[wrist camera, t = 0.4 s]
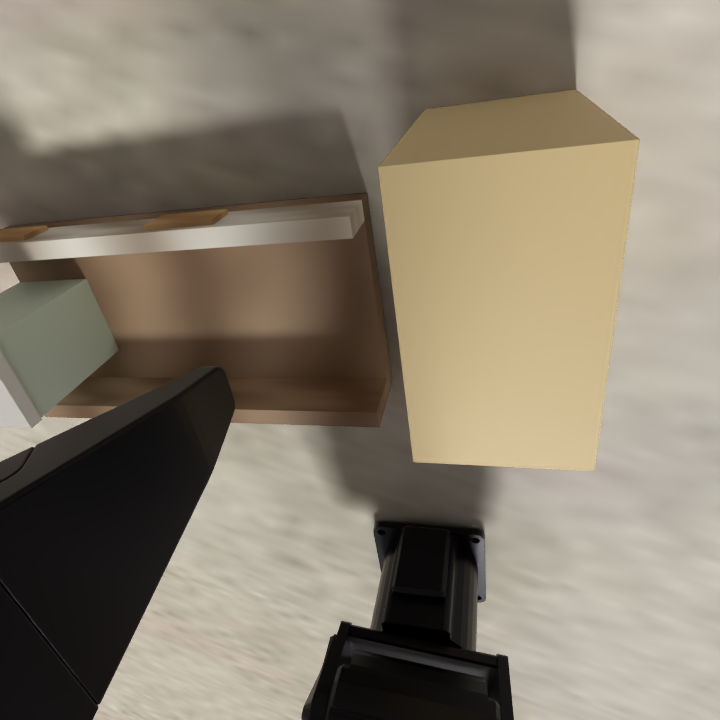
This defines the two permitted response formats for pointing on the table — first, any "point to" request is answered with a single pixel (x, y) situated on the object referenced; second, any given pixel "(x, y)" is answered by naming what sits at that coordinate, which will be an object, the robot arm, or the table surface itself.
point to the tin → (47, 346)
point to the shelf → (228, 305)
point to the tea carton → (508, 276)
